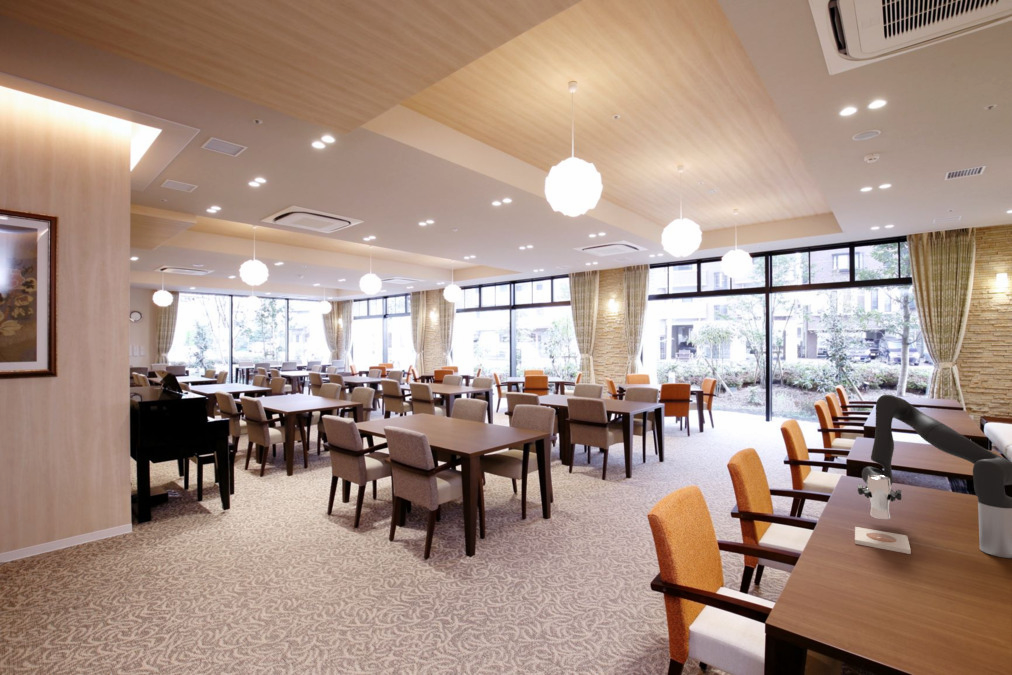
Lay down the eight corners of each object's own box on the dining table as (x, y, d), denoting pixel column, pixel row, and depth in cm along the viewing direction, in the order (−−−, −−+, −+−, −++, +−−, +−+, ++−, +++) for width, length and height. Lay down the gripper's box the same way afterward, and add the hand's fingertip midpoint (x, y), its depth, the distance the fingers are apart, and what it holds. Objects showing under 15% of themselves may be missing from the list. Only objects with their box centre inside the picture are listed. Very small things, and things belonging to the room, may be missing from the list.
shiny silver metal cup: (883, 513, 183) (882, 474, 183) (896, 520, 176) (895, 479, 176) (864, 513, 184) (863, 474, 184) (876, 519, 177) (875, 479, 177)
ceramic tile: (907, 539, 181) (906, 535, 181) (910, 554, 168) (910, 549, 168) (855, 530, 191) (855, 526, 191) (855, 543, 178) (854, 539, 178)
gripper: (856, 474, 196) (855, 484, 182) (901, 479, 187) (904, 490, 174) (856, 492, 196) (856, 503, 182) (901, 498, 187) (905, 510, 174)
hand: (879, 497), depth 178 cm, fingers closed on shiny silver metal cup, 6 cm apart
